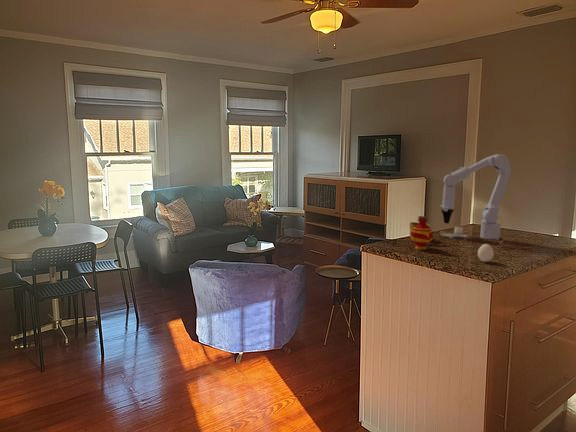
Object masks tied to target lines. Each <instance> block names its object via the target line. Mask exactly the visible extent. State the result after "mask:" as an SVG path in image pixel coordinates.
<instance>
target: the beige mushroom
mask: <svg viewBox="0 0 576 432" xmlns="http://www.w3.org/2000/svg"><path fill="white" fill-rule="evenodd" d="M463 231H464V227H463V226H458V225H457V226H456V225H455V226H454V232H453V234H462V235H463V233H464V232H463ZM452 238H457V239H456V240H461V239H463V238H464V237H459V236H452ZM452 238H451V239H452Z"/></svg>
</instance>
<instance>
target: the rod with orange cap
mask: <svg viewBox="0 0 576 432" xmlns="http://www.w3.org/2000/svg"><path fill="white" fill-rule="evenodd" d="M439 235H450V236H459V237H467V238H468V237H469V235H468V234H463V233H462V234H454V233H450V232H445V231H444V230H440V231H439ZM450 236H449V237H450Z"/></svg>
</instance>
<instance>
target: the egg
mask: <svg viewBox="0 0 576 432" xmlns="http://www.w3.org/2000/svg"><path fill="white" fill-rule="evenodd" d="M493 249H494V248H493V247H492V246H491V245H490V244H487V243H484V244H481V246H480V247H479V248H478V250H477V257H478V259H479V260H480V261H481V262H483V263H489V262H490V261H491V260H492V259H493V258H494V250H493Z"/></svg>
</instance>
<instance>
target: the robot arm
mask: <svg viewBox="0 0 576 432" xmlns="http://www.w3.org/2000/svg"><path fill="white" fill-rule="evenodd" d="M485 167H493V168H495V170H496V171H497V172H498V176H497V180H496V181H495V184H494V187H493V190H492V192H491V196H490V198H489V201H488V203H487V204H486V206H485V208H484V209H483V210H482V211H481V215H480V216H481V218H482V220H481V224H480V238H482V239H486V240H499V241H500V238H501V227H502V226H501V225H502V223H499V222H498V219H499V211H500V210H499V209H500V207H499V206H500V204H501V201H502V200H503V199H502V198H503V196H504V193H505V191H506V188H507V186H508V183H509V179H510V178H511V174H512V171H511V165H510V160H509V159H508V157H507V156H506V155H505V154H501V153H500V154H499V153H495V154H493V155H490V156H487V157H485V158H483V159H481V160H479V161H478V162H475V163H474V164H471V165H470V166H468V167H467V166H464V167H463V166H460V167H459V168H458V169H457V170H456V171H451V172H450V174H446V175H445V176H444V177H443V180H442V182H443V184H444V185H443V191H442V201H441V203H442V204H440V205H439V207H440V208H442V209H440V210H441V213H442V216H443V223H444V224H450V220H451V218H452V214H453V212H454V211H455V210H454V208H455V206H454V205H455V193H456V184H457V183H460V182H462V181H463V180H466V179H467V178H470V177H471V175H472V173H474V172H476V171H479V170H481V169H483V168H485Z"/></svg>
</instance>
